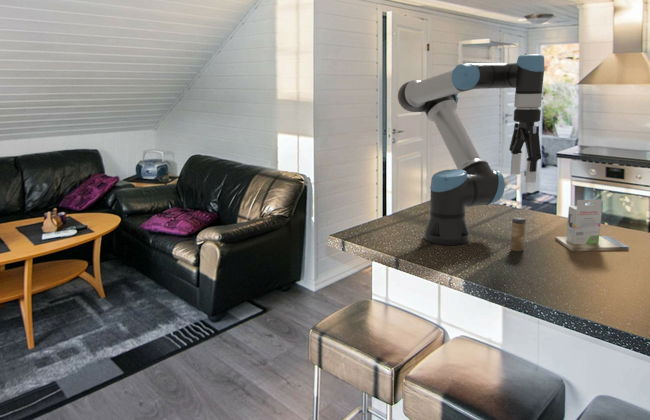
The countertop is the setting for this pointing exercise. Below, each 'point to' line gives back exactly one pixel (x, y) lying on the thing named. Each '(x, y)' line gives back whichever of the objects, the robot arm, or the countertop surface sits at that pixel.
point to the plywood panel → (603, 244)
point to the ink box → (584, 222)
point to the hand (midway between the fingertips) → (522, 178)
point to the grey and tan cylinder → (518, 234)
